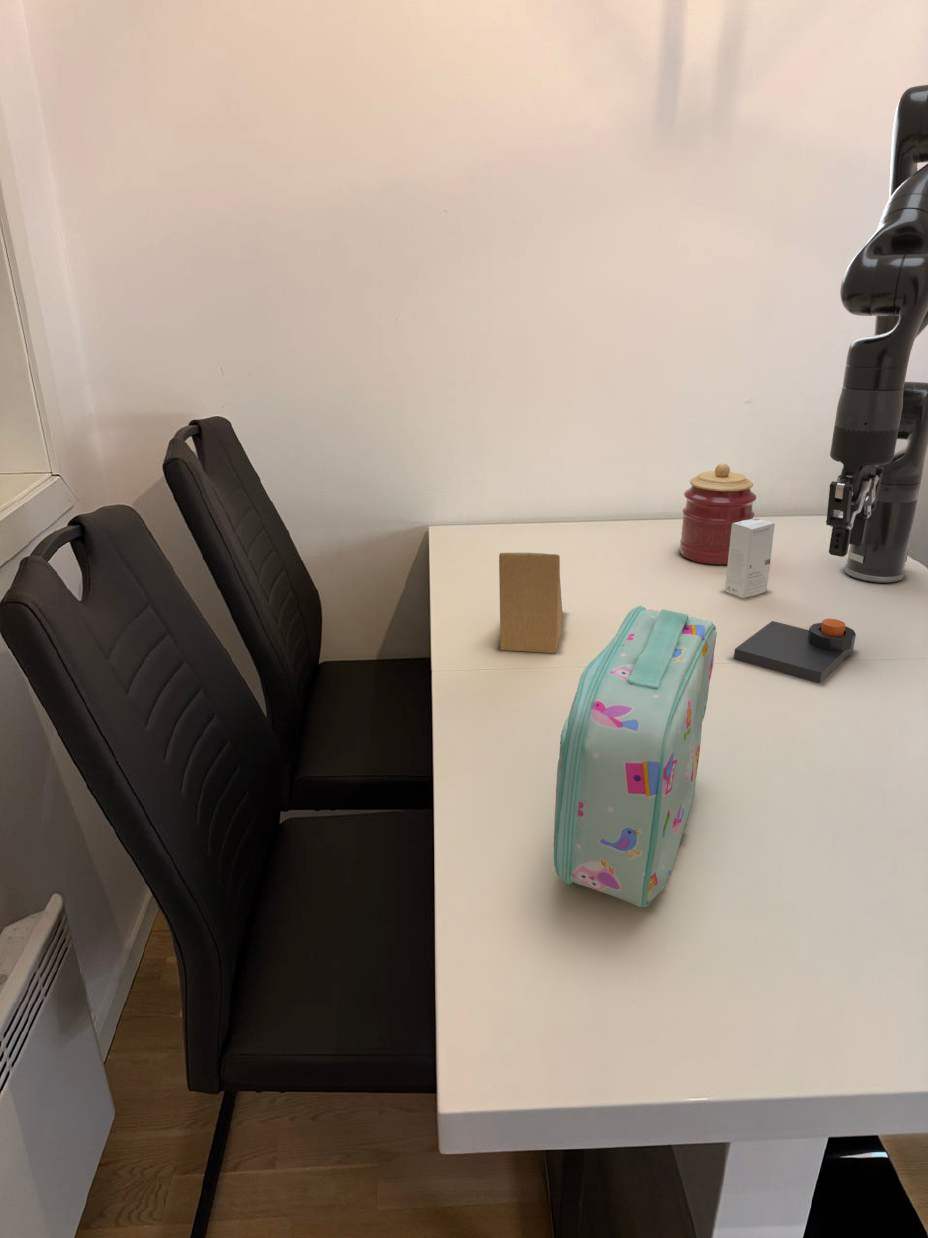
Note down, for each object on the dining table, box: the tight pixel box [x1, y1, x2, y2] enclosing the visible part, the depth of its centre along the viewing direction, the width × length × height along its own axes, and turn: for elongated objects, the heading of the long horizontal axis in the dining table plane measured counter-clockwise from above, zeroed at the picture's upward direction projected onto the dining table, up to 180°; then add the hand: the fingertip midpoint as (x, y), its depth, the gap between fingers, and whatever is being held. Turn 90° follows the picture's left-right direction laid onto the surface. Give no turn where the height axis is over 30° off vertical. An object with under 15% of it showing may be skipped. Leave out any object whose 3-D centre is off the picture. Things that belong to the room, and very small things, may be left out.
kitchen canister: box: [679, 462, 757, 565], centre depth 157 cm, size 13×13×18 cm
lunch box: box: [553, 605, 718, 908], centre depth 79 cm, size 27×10×21 cm, turn 157°
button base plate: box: [733, 620, 857, 684], centre depth 118 cm, size 13×12×4 cm
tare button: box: [821, 618, 846, 636], centre depth 118 cm, size 3×3×2 cm
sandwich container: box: [498, 552, 564, 654], centre depth 126 cm, size 9×15×15 cm, turn 170°
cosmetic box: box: [724, 518, 776, 599], centre depth 140 cm, size 6×4×12 cm
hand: (845, 548), depth 113 cm, fingers open, 5 cm apart
